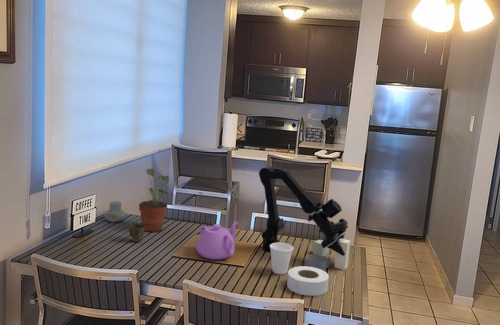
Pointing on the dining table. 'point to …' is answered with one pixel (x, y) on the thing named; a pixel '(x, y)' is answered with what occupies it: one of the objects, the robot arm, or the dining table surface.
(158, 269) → the dining table surface
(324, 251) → the sage block
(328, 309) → the dining table surface
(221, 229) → the teapot
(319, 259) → the base block
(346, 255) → the cream block
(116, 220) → the air freshener
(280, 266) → the cup
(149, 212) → the potted plant
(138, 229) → the cup
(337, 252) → the robot arm
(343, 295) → the dining table surface
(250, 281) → the dining table surface
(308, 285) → the roll of tape
